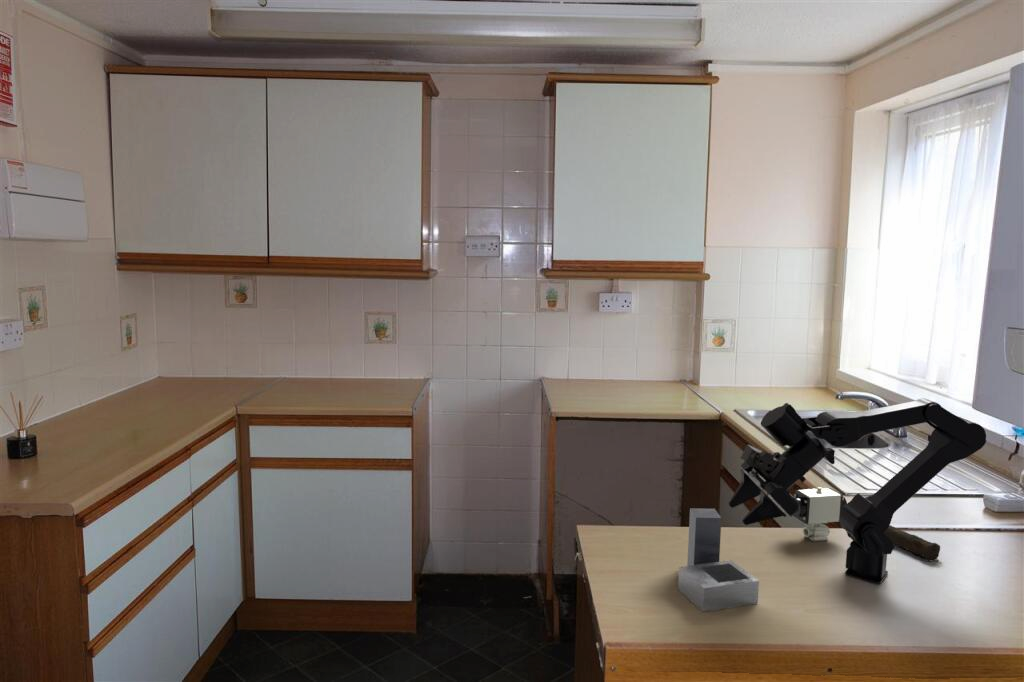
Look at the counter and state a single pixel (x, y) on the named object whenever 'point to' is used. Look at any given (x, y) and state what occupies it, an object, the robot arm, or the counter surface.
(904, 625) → the counter surface
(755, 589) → the block with rectangular hole
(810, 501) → the pneumatic valve
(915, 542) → the hand tool
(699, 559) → the peg
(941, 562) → the counter surface
